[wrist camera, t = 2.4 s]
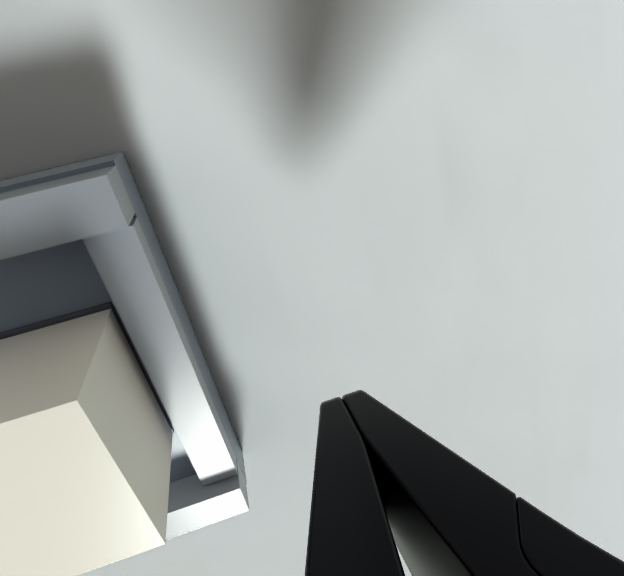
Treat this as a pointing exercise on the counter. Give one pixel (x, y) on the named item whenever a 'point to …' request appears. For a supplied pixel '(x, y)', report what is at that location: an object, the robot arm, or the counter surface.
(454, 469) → the robot arm
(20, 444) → the beige block
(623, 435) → the counter surface
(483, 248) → the counter surface
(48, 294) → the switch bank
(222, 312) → the counter surface
